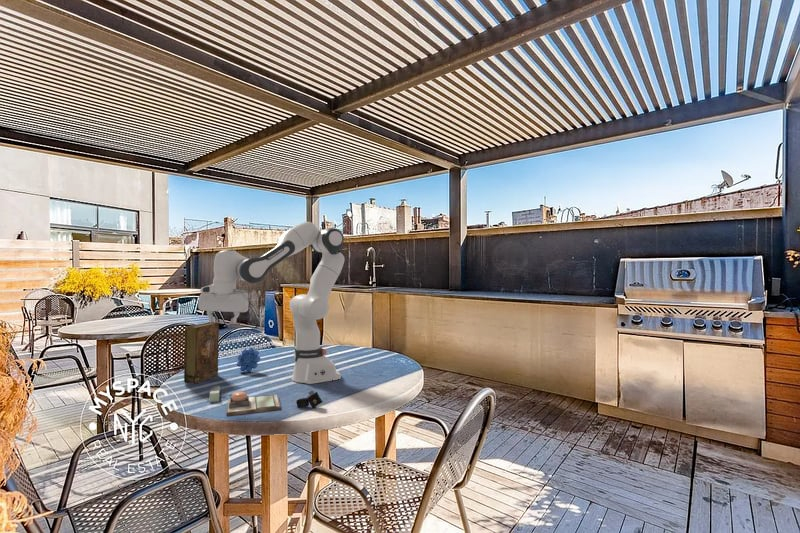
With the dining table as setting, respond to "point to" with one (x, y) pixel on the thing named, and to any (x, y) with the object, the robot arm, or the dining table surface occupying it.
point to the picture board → (253, 405)
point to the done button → (239, 396)
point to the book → (201, 352)
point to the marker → (214, 394)
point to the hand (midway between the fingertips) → (222, 322)
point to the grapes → (248, 359)
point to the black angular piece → (309, 400)
